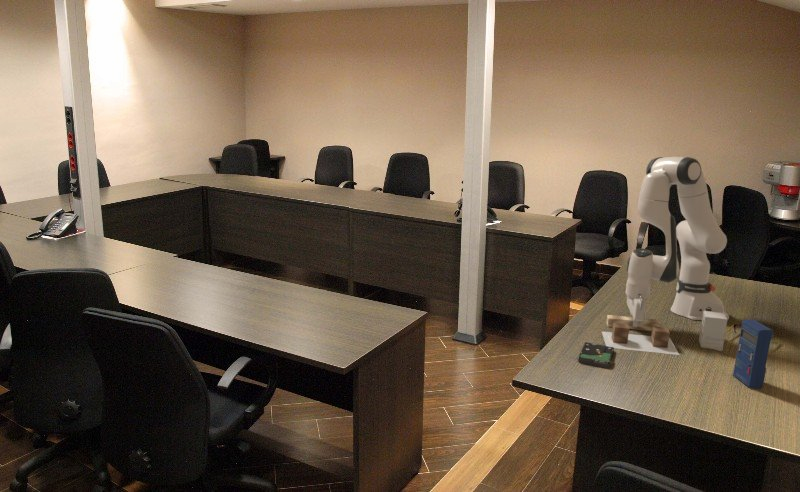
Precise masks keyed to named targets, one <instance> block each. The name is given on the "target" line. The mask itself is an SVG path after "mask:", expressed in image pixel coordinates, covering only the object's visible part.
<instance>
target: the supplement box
mask: <svg viewBox="0 0 800 492" xmlns="http://www.w3.org/2000/svg"><path fill="white" fill-rule="evenodd" d="M727 324H728V321H727V318H726V316H725V314H724V313H719V312H711V311H703V317H702V320H701V324H700V331H699V337H698V342H699V345H700V347H701V348H703V349H710V350H716V351H718V352H723V349H724V343H725V337H726V334H725V332H726V331H727V326H728V325H727Z"/></svg>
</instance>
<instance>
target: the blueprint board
mask: <svg viewBox="0 0 800 492" xmlns="http://www.w3.org/2000/svg"><path fill="white" fill-rule="evenodd" d="M601 334H602V337H603V341H604V345H605V346H609V347H614V349H617V350H629V351H636V352H645V353H647V352H648V353H657V354H667V355H675V356H680V353H679V351H678V349H677V348H676V346H675V345H674V343H673V341H672V338H670V337H669V341H668V348H662V347H653V345H652V343H651V336H650V335H640V334H632V333H629V335H628V342H627V344H623V343H613V340H612V331H601Z"/></svg>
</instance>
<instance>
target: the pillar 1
mask: <svg viewBox="0 0 800 492" xmlns="http://www.w3.org/2000/svg"><path fill="white" fill-rule="evenodd" d="M611 332H612V340H613V343H623V344H627V342H628V335H629V334H630V333H629V332H630V329H629V327H628V324H623V323H613V327H612V330H611Z"/></svg>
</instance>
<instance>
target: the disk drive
mask: <svg viewBox="0 0 800 492" xmlns="http://www.w3.org/2000/svg"><path fill="white" fill-rule="evenodd" d="M614 351H615V348H614V347H609V346H606V345H603V344H594V343H592V342H586V341H585V342H584V344H583V345H582V349H581V351H580V352H579V355H578V361H577V363H578V364H579V363H580V364H585V365H590V366H595V367H600V368H605V369H609V368H610V366H611V362H612V358H613V355H614Z"/></svg>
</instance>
